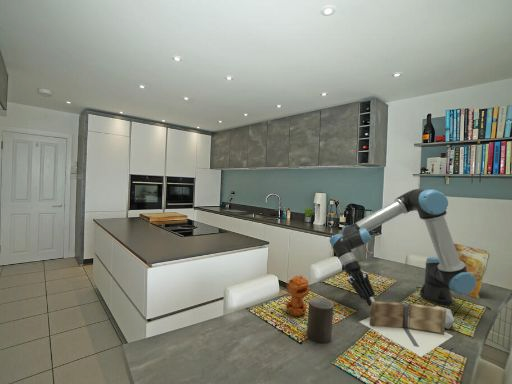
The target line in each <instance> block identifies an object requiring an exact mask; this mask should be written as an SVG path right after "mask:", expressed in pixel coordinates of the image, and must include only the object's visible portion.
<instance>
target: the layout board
mask: <svg viewBox="0 0 512 384" xmlns="http://www.w3.org/2000/svg"><path fill="white" fill-rule="evenodd" d="M408 319H409V317H408ZM358 322H359V323H360V324H362V325H364V326H366V327H368V328H369V329H371V330H373V331H375V332H377V333H378V334H380V335H381V336H383V337H385V338H386V339H389V340H390V341H392V342H394V343H396V344H398V345H399V346H401V347H403V348H404V349H406V350H408V351H410V352H411V353H413V354H415V355H417V356H419V359H423V358H422V357H423V356H426V355H427V354H428V353H430V352H431V351H433V350H434V349H436V348H437V347H439V346H440V345H442V344H443V343H446V342H447V341H448V340H449V339H451V338H453V337H454V336H453V335H452V334H449V333H448V332H446V331H444V335H442V334H440V333H438V332H432V331H426V330H420V329H413V328H409V327H408V328H407V329H405V328H403V327H390V326H371V325H370V316H369V317H367V318H365V319H362V320H360V321H358Z"/></svg>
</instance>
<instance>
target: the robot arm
mask: <svg viewBox="0 0 512 384" xmlns="http://www.w3.org/2000/svg"><path fill="white" fill-rule="evenodd" d="M448 206H449V200H448V198H447V195H445V194H444V193H443V192H441V191H440V190H436V189H432V188H431V189H428V188H427V189H424V188H423V189H422V188H415V189H411V190H409V191H407V192H405V193H403V194H401V195H400V196H397V197H396V198H394V201H393V202H391V203H389V204H387V205H385V206H384V207H382V208H380V209H378V210H376V211H375V212H373V213H371V214H369V215H367V216H365V217H364V218H362V219H360V220H358V221H356V222H355V223H352V224H351V225H345V226H343V227H342V229H341V233H337V234H334V235H332V236H331V237H330V238H329V243H330V245H331V247H332V250H333V252H334V253H335V255H336V257H337V259H338V260H339V262H340V264H341V265H342V267H343V270H344V272H345V273H346V274H347V275H348V276H349V278H348V279H347V282H348V283H349V284H350V285H351V287H352V288H353V289H354V291H355V292H356V293H357V295H358V297H359V298H360V299H362V300H363V301H366V303H367V305H368V306H369V308H370V309H371V302H374V301H376V299H375V298H374V296H375V294H376V293H375V291H374V289H373V286H372V284H371V281H370V279H369V275H368V274H364V273H363V272H362V270H361V268H362V267H361V265H360V263H359V261H357V258H356V257H355V255H354V253H353V252H352V250H354V249H356V248H359V247H361V246H364V245H366V244H368V243H369V242H371V241H372V237H371V234H370V231H372V230H374V229H376V228H377V227H379V226H382V225H383V224H385V223H387V222H389V221H390V220H393V219H394V218H396V217H398V216H400V215H402V214H404V215H405V214H408V213H410V212H414V211H417V214H418V216H419V219H420V220H422V221H424V224H425V226H426V228H427V229H426V230H427V231H428V234H429V237H430V240H431V244H432V245H433V248H434V251H435V254H436V257H434V256H431V257H427V258H426V261H425V270H424V271H425V272H424V273H425V274H424V282H423V285H422V286H421V288H420V290H419V297H421V298H422V299H424V300H426V301H428V302H431V303H434V304H438V305H443V306H444V305H445V306H450V305H452V304H453V295H452V293H456V294H459V295H465V294H467V293H470V292H471V291H472V290H473V289H474V288H475V286H476V279H475V277H474V276H473V275H472V274H471V273H468V271H467V268H466V266H465V263H464V262H462V261H460V260H459V257H458V254H457V251H456V248H455V246H454V244H455V242H454V241H453V238H452V235H451V233H450V230H449V226H448V223H447V221H446V219H445V217H446V215H447V214H448V213H447V209H448ZM451 292H452V293H451Z"/></svg>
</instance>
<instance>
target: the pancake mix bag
mask: <svg viewBox="0 0 512 384" xmlns="http://www.w3.org/2000/svg"><path fill="white" fill-rule="evenodd" d="M454 246H455V248H456V251H457V254H458V257H459V260H460V261H462V262H464V263H465V266H466V268H467V271H468V273H471V274H472V275H473V276H474V277H475V279H476V286H475V288H474V289H473V290H472V291H471V292H470V293H467V294H464V295H466V296H468V297H471V298H476V299H480V294H479V293H480V291H481V287H482V283H483V280H484V277H485V273H486V270H487V266H488V263H489V259H490V253H489V252H487V250H484V249H481V248H476V247H471V246H469V245H462V244H458V243H454Z"/></svg>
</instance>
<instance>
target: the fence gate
mask: <svg viewBox="0 0 512 384" xmlns="http://www.w3.org/2000/svg"><path fill="white" fill-rule="evenodd" d="M403 312H404V302H394V301H393V302H392V301H391V302H390V301H389V302H388V301H376V300H375V301H374V302H371V308H370V312H369V313H370V315H369V317H370V325H371V326H390V327H402V324H403Z"/></svg>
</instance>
